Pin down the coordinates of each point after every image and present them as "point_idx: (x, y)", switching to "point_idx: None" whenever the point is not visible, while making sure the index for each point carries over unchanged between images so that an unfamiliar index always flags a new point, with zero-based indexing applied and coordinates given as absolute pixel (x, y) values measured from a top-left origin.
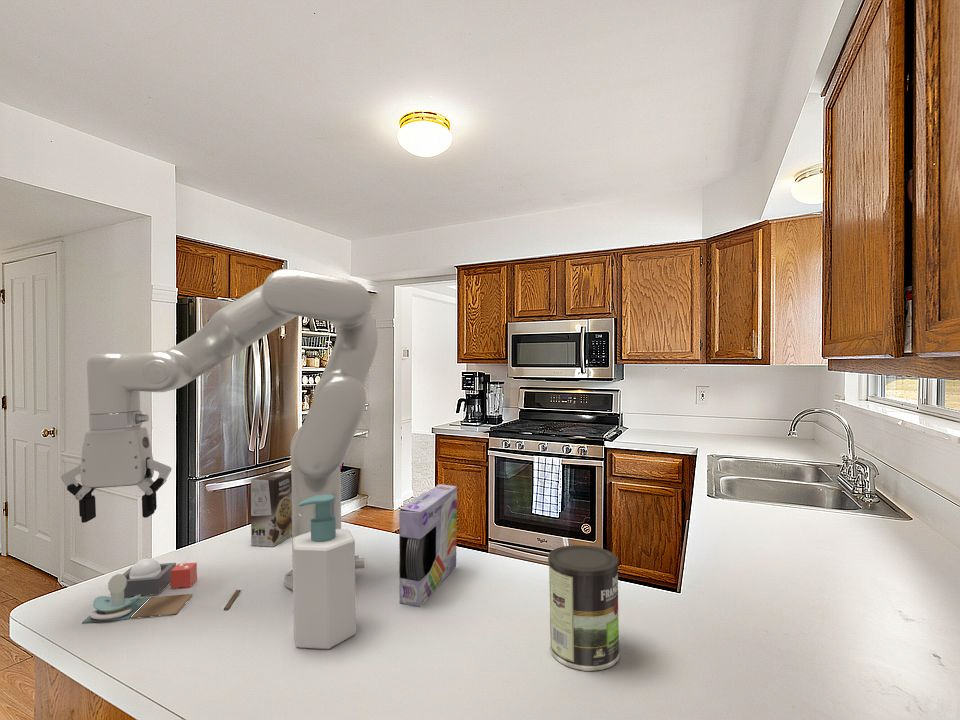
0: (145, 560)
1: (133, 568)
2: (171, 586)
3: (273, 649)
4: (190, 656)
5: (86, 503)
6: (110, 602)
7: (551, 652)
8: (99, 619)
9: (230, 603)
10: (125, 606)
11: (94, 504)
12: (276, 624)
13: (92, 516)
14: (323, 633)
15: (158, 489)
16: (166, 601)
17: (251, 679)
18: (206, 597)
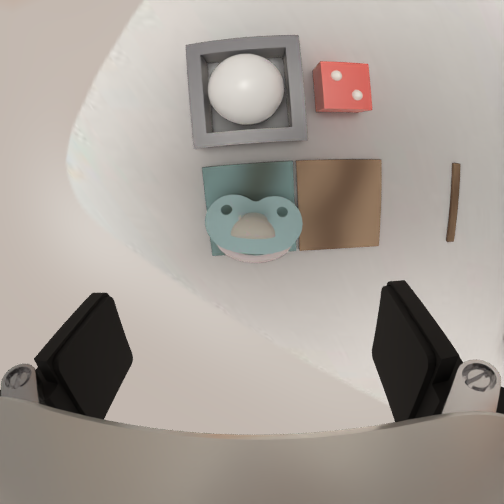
0: (248, 90)
1: (224, 109)
2: (318, 111)
3: (488, 341)
4: None
5: (101, 416)
6: (234, 211)
7: None
8: None
9: (454, 223)
10: (282, 240)
11: (82, 341)
12: (499, 291)
13: (114, 324)
14: None
15: (488, 367)
16: (340, 189)
17: None
18: (408, 176)
